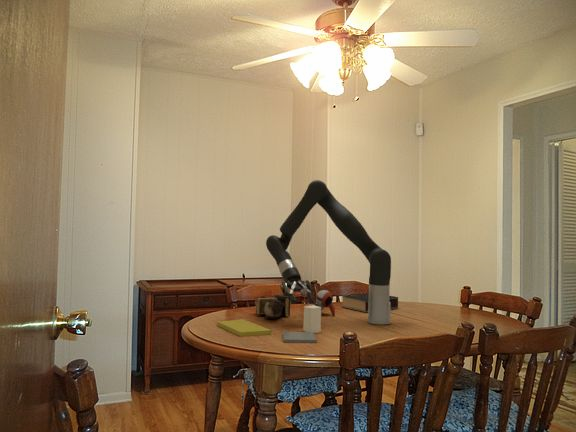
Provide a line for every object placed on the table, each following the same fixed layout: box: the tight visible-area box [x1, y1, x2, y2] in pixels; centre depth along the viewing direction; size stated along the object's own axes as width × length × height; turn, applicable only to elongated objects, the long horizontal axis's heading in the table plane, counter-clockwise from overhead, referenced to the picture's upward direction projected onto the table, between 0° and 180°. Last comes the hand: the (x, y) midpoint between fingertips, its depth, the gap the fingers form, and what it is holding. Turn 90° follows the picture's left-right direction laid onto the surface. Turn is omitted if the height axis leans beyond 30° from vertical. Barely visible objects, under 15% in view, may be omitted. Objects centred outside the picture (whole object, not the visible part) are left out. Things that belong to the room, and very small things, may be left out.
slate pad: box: [282, 331, 318, 344], centre depth 169 cm, size 12×12×1 cm
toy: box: [306, 289, 336, 317], centre depth 220 cm, size 14×15×14 cm
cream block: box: [302, 304, 322, 334], centre depth 181 cm, size 5×5×10 cm
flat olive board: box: [216, 318, 272, 338], centre depth 181 cm, size 12×2×24 cm
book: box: [341, 293, 399, 313], centre depth 239 cm, size 17×25×7 cm
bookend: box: [254, 294, 291, 320], centre depth 208 cm, size 14×11×24 cm
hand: (303, 302), depth 187 cm, fingers open, 8 cm apart
